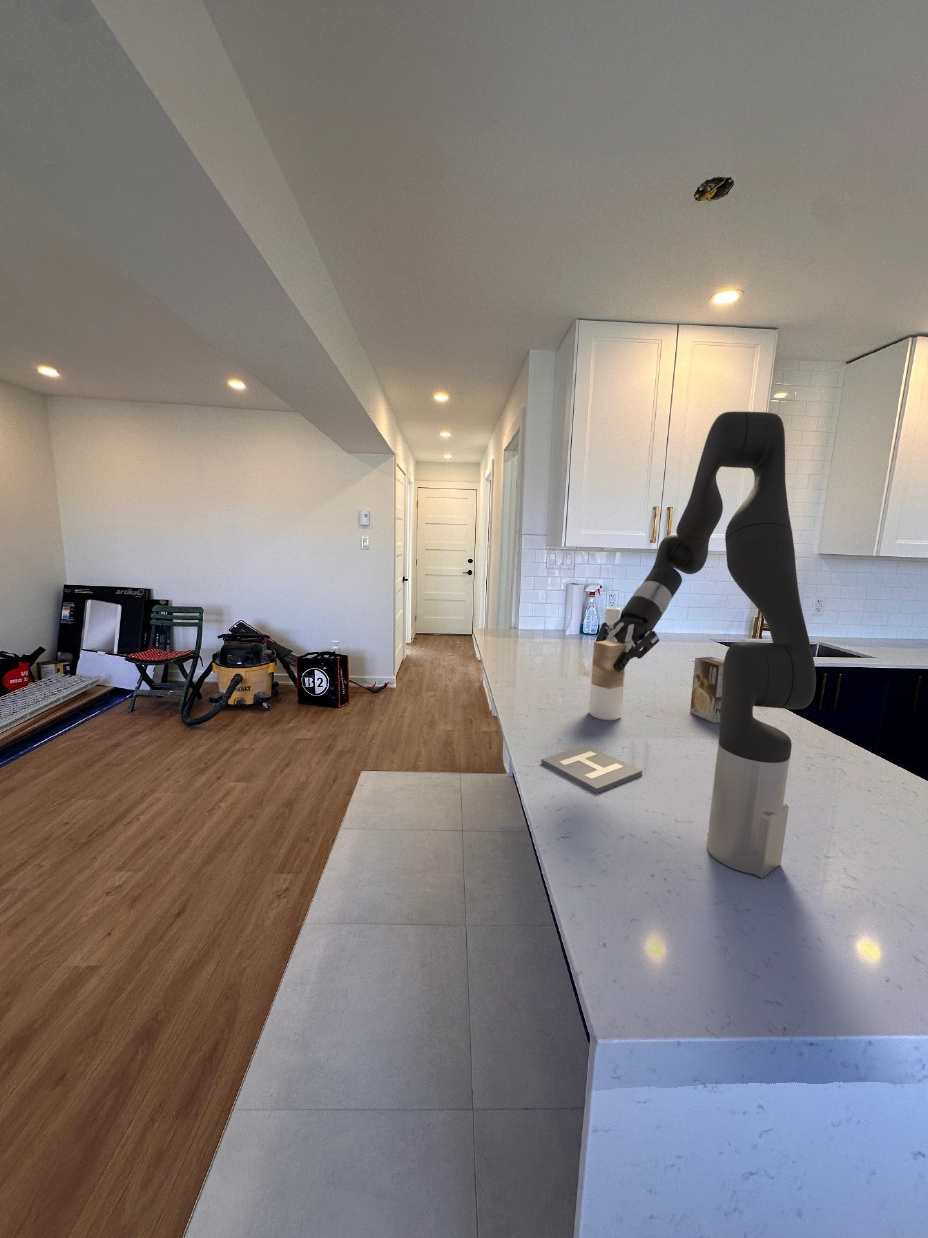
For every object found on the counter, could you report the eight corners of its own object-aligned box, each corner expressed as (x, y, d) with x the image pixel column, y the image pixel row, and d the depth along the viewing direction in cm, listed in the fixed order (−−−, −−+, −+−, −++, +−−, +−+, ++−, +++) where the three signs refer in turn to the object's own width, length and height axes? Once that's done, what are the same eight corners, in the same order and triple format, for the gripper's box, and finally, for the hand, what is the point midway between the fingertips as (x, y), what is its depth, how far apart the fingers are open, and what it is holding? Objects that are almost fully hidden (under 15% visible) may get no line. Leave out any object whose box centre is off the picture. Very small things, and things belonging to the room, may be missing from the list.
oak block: (622, 686, 103) (625, 644, 102) (608, 689, 100) (611, 646, 99) (605, 681, 107) (608, 640, 105) (591, 684, 104) (594, 642, 103)
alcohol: (625, 714, 137) (634, 607, 132) (615, 723, 130) (624, 611, 125) (594, 707, 142) (602, 604, 137) (583, 716, 135) (591, 607, 130)
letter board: (641, 775, 101) (642, 770, 101) (596, 793, 93) (597, 788, 93) (585, 749, 113) (586, 744, 113) (541, 763, 105) (541, 758, 105)
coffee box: (732, 721, 134) (738, 664, 131) (713, 723, 132) (719, 665, 129) (706, 710, 143) (712, 656, 140) (688, 712, 141) (693, 657, 138)
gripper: (612, 591, 111) (572, 649, 106) (670, 598, 100) (627, 662, 95) (625, 613, 115) (587, 670, 110) (682, 622, 104) (642, 685, 98)
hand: (606, 666), depth 102 cm, fingers closed on oak block, 4 cm apart
